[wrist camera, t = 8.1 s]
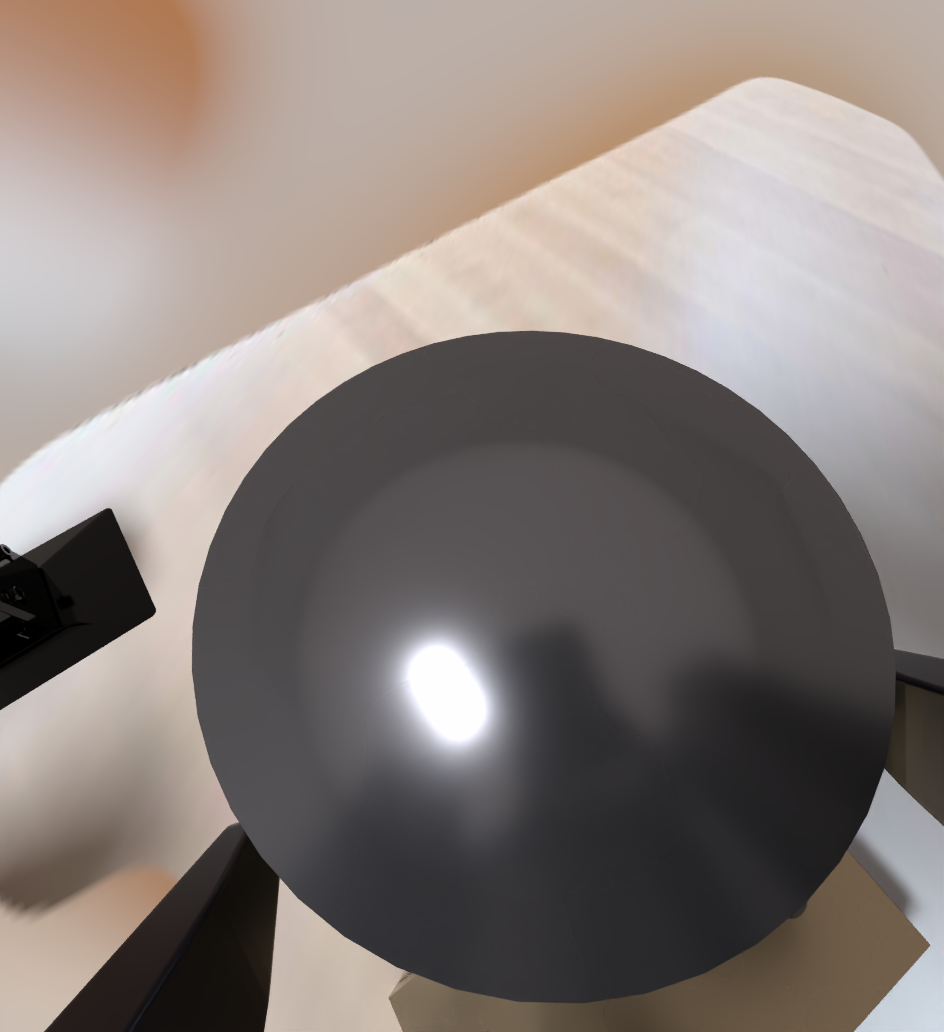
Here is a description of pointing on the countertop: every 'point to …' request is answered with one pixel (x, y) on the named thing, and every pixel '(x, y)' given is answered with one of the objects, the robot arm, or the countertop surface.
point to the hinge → (724, 979)
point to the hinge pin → (543, 667)
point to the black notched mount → (66, 602)
